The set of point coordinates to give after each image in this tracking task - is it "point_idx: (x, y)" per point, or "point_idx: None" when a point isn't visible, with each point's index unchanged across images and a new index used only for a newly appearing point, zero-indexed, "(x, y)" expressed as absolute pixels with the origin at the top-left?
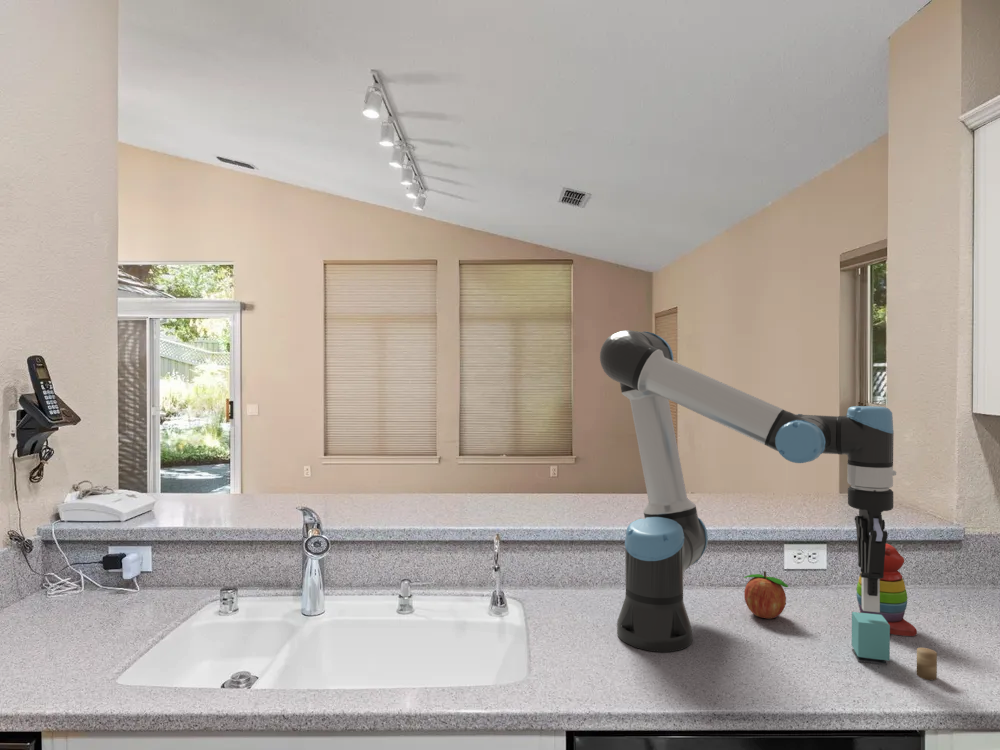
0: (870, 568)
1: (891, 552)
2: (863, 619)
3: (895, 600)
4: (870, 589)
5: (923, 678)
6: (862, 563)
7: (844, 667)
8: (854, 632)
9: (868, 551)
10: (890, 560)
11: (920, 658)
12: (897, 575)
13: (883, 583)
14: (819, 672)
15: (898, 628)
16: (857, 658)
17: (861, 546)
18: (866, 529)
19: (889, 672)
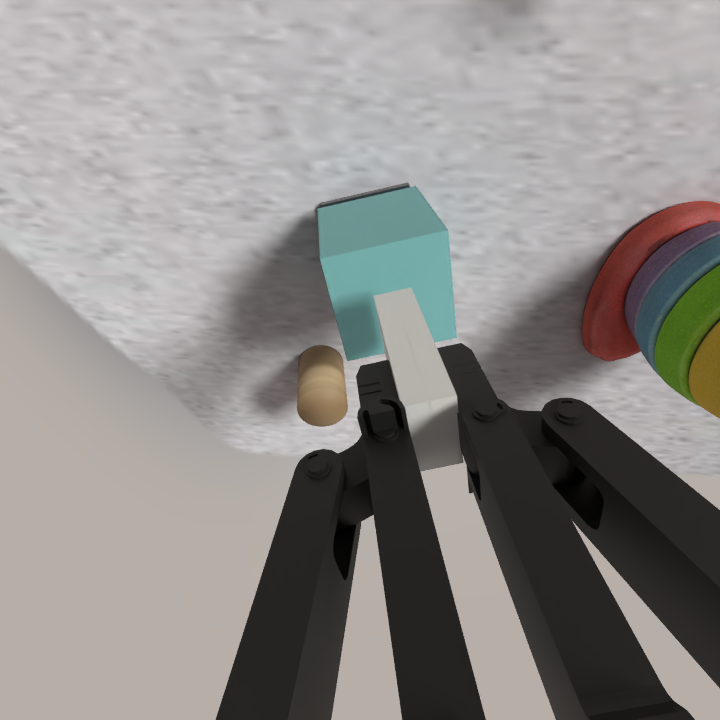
0: (278, 529)
1: None
2: (365, 277)
3: (661, 369)
4: (360, 394)
5: (300, 357)
6: (479, 462)
7: (244, 157)
8: (382, 216)
9: (293, 677)
10: None
11: (303, 384)
12: None
13: None
14: (132, 61)
15: (596, 323)
16: (331, 202)
17: (575, 594)
18: None
19: (291, 286)
